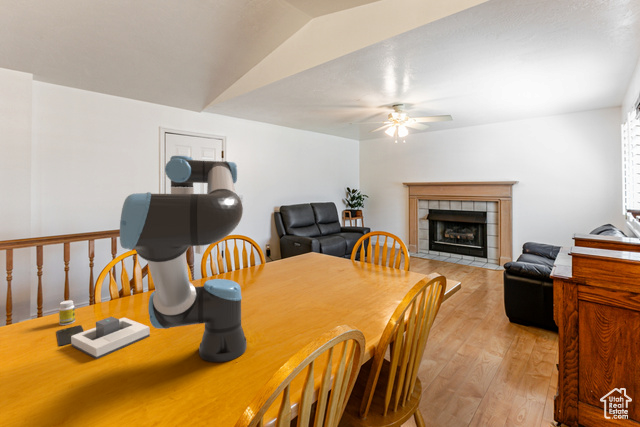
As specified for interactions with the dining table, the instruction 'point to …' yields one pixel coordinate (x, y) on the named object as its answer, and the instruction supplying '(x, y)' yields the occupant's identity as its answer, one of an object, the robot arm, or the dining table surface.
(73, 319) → the supplement bottle
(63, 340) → the smartphone
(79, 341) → the white slotted tray
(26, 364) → the dining table surface
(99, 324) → the charger brick
